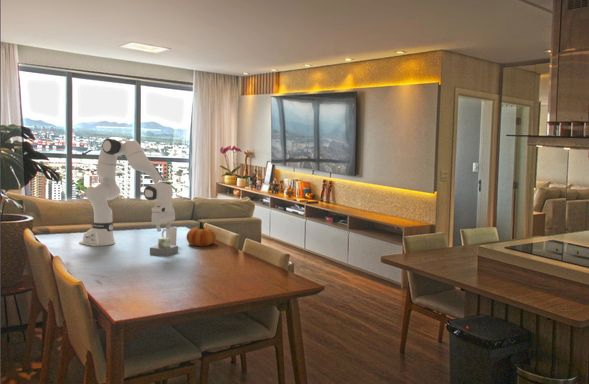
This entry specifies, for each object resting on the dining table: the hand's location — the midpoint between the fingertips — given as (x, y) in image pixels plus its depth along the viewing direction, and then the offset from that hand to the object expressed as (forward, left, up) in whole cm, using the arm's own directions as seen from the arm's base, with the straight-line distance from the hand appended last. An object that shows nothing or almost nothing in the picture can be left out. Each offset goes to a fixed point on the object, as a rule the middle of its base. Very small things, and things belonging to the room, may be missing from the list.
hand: (163, 230), depth 303 cm
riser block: (0, 0, -14) cm, 14 cm away
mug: (-10, +21, -14) cm, 27 cm away
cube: (0, 0, -10) cm, 10 cm away
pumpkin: (+7, +33, -14) cm, 37 cm away
